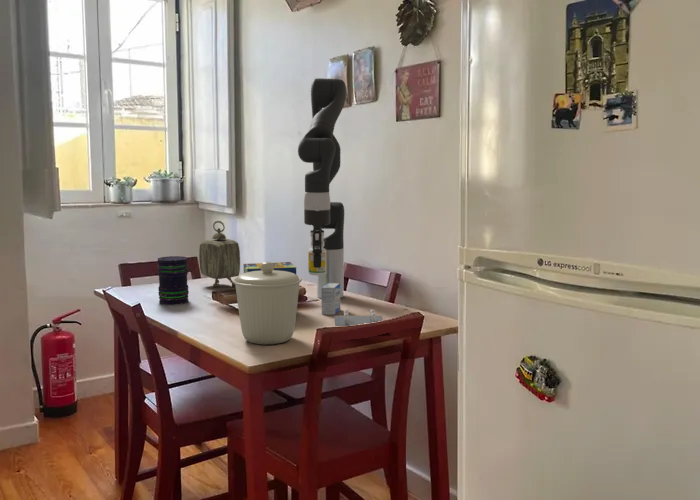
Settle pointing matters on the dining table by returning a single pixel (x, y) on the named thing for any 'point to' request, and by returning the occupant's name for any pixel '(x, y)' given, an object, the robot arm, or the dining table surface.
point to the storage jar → (173, 280)
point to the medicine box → (330, 298)
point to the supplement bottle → (323, 268)
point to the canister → (267, 304)
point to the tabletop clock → (219, 257)
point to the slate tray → (356, 319)
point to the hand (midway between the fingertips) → (317, 265)
